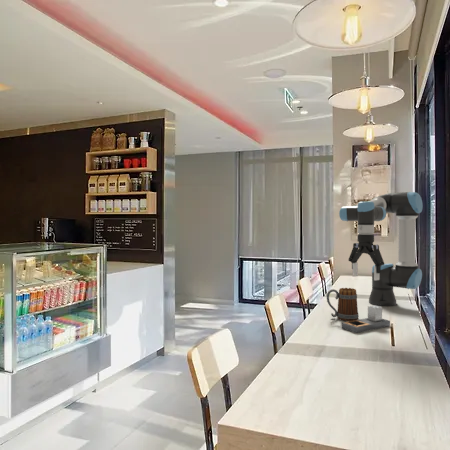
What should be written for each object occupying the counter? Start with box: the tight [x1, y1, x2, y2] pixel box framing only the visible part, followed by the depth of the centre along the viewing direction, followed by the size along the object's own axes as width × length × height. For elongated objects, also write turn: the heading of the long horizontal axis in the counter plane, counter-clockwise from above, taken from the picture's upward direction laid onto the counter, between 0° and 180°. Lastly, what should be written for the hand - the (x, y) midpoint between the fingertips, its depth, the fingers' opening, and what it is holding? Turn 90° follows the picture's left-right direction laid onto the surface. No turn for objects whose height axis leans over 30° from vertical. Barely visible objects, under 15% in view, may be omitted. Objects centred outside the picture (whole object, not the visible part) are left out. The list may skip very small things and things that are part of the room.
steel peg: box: [367, 304, 383, 322], centre depth 191 cm, size 4×4×9 cm
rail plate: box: [341, 317, 391, 334], centre depth 188 cm, size 22×9×3 cm, turn 119°
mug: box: [326, 287, 360, 322], centre depth 203 cm, size 16×11×15 cm
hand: (365, 278), depth 192 cm, fingers open, 13 cm apart
